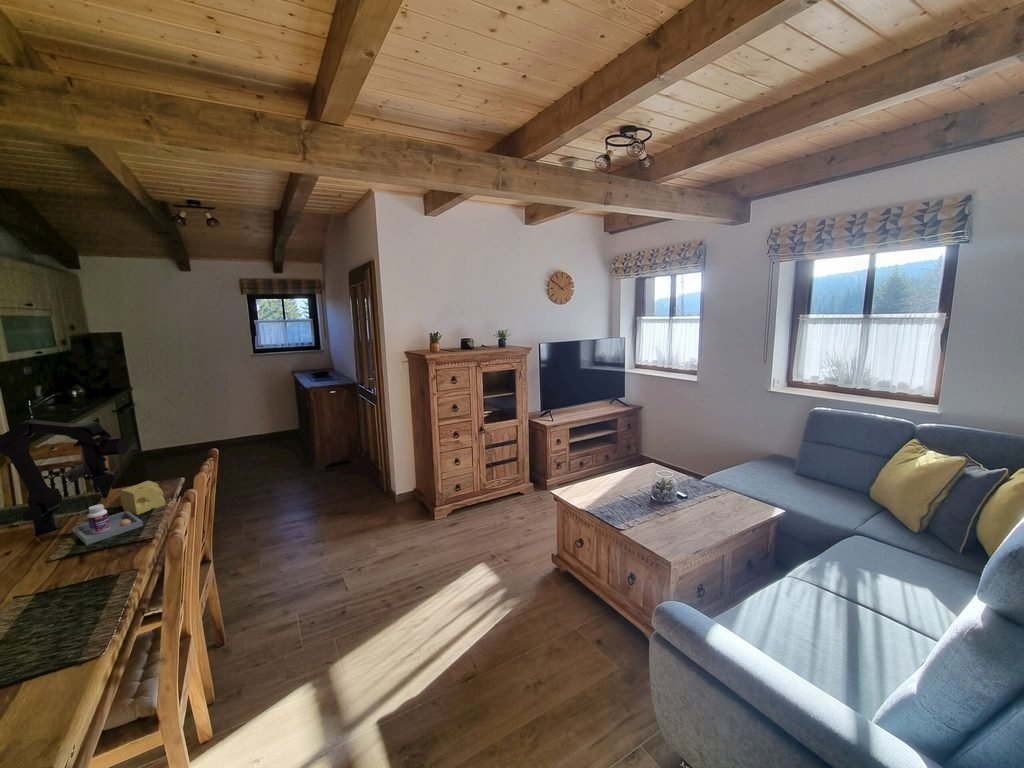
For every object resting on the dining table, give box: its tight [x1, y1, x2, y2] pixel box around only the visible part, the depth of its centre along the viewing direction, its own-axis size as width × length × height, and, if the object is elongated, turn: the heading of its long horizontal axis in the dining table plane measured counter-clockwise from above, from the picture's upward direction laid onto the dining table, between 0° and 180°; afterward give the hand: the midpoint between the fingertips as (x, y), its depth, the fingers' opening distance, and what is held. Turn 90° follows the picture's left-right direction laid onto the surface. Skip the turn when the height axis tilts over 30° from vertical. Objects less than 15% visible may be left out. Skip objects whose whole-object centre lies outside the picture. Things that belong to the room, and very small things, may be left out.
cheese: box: [119, 480, 166, 516], centre depth 180 cm, size 10×11×10 cm
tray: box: [72, 510, 144, 546], centre depth 163 cm, size 16×16×3 cm
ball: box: [120, 519, 131, 527], centre depth 164 cm, size 3×3×3 cm
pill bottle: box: [86, 503, 110, 534], centre depth 161 cm, size 5×5×10 cm
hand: (101, 495), depth 165 cm, fingers open, 9 cm apart
